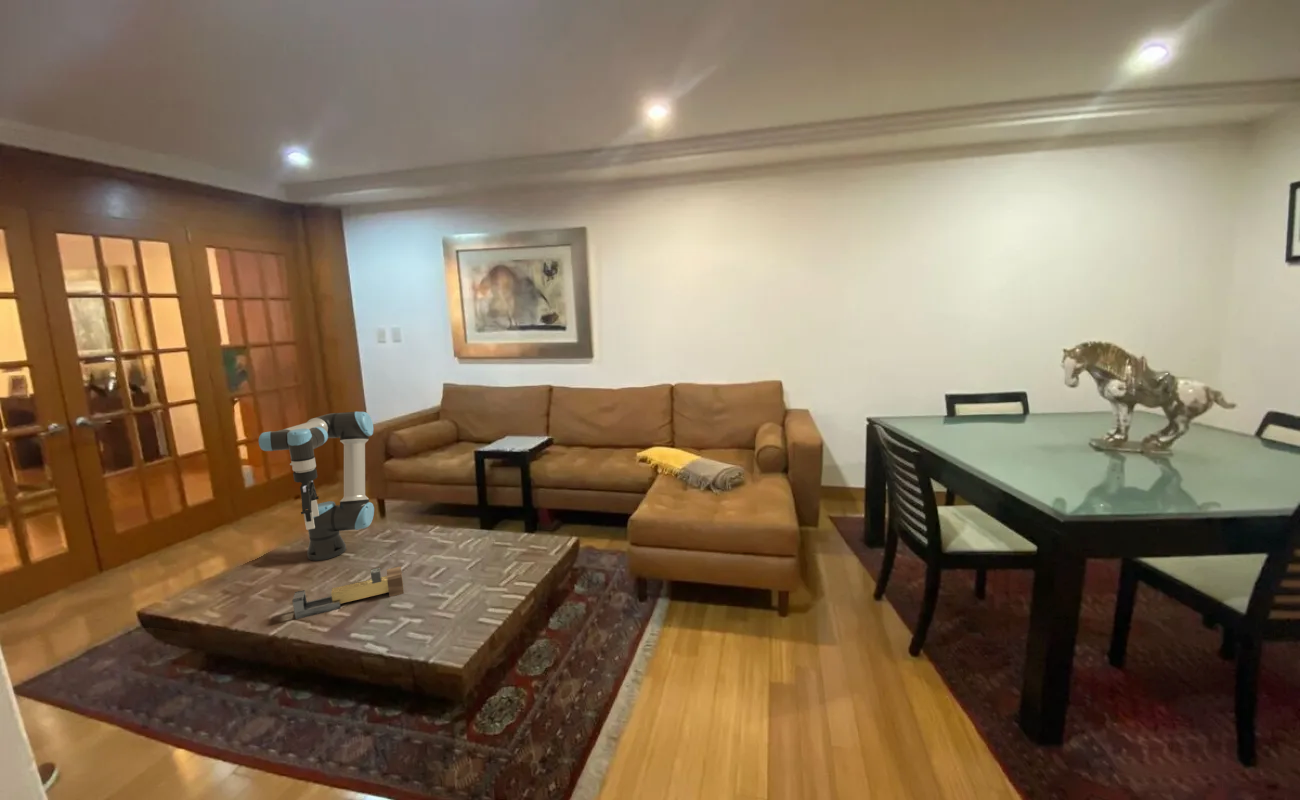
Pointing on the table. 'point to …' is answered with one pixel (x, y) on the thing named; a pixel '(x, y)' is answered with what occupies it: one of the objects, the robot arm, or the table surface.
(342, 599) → the tan wooden bar
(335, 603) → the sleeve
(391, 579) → the socket
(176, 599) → the table surface
